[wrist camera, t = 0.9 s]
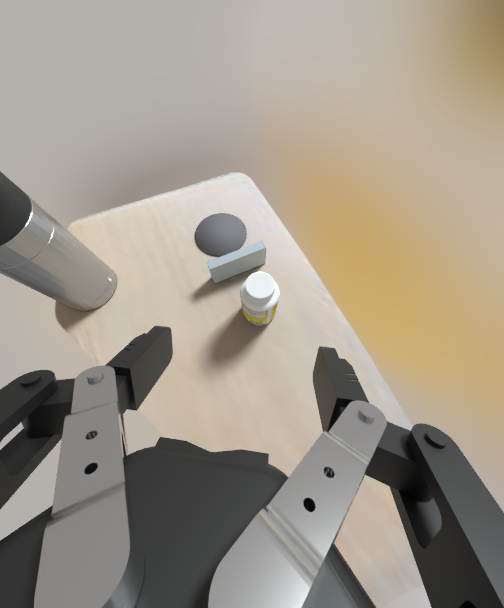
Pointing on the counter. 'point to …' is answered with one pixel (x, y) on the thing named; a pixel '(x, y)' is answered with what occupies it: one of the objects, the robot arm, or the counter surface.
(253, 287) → the supplement bottle
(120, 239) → the counter surface
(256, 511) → the robot arm
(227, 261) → the low wall
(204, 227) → the resting mat
